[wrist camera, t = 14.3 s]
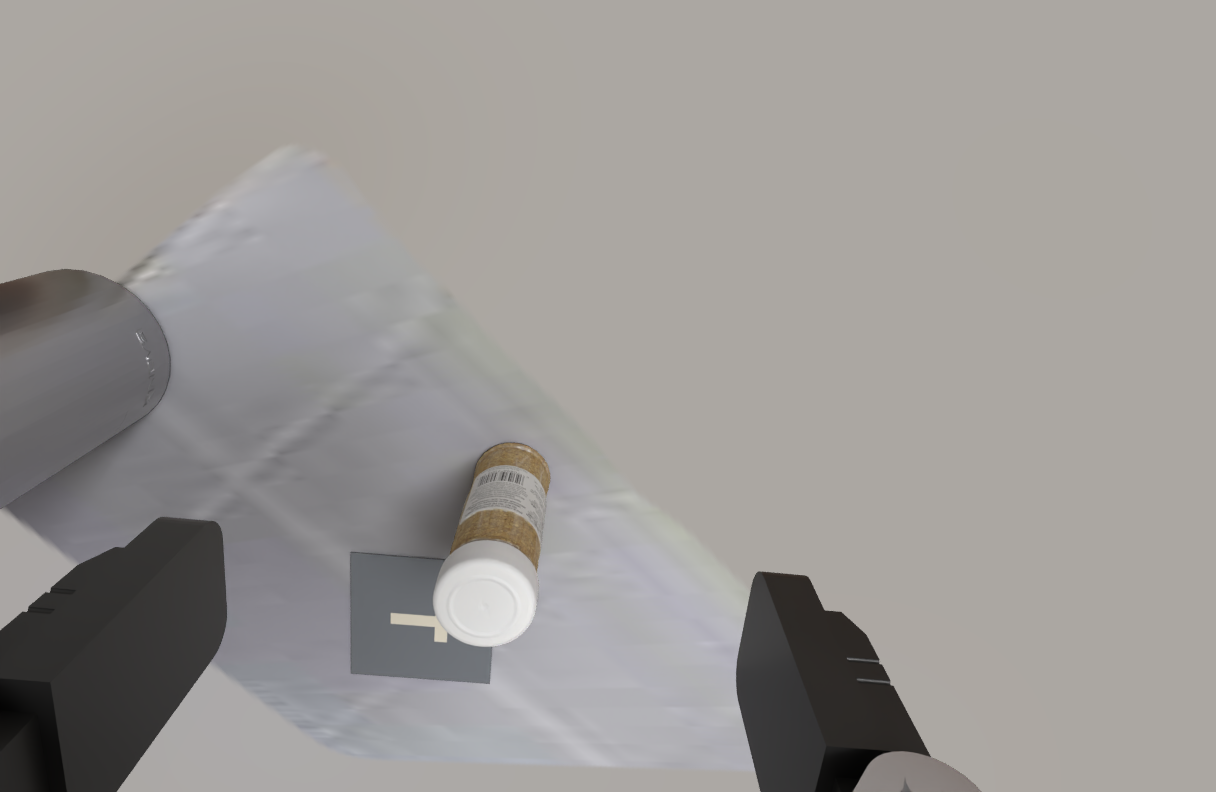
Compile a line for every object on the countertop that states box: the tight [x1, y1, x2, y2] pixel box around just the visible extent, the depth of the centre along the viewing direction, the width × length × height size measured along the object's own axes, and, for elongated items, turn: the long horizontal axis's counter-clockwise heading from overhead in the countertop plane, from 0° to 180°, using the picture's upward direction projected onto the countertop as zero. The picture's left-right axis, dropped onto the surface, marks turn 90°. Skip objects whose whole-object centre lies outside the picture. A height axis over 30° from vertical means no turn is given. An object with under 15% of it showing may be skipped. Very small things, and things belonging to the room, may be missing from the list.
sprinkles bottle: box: [433, 443, 550, 647], centre depth 40 cm, size 5×5×13 cm
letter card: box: [351, 552, 492, 684], centre depth 49 cm, size 9×9×1 cm
